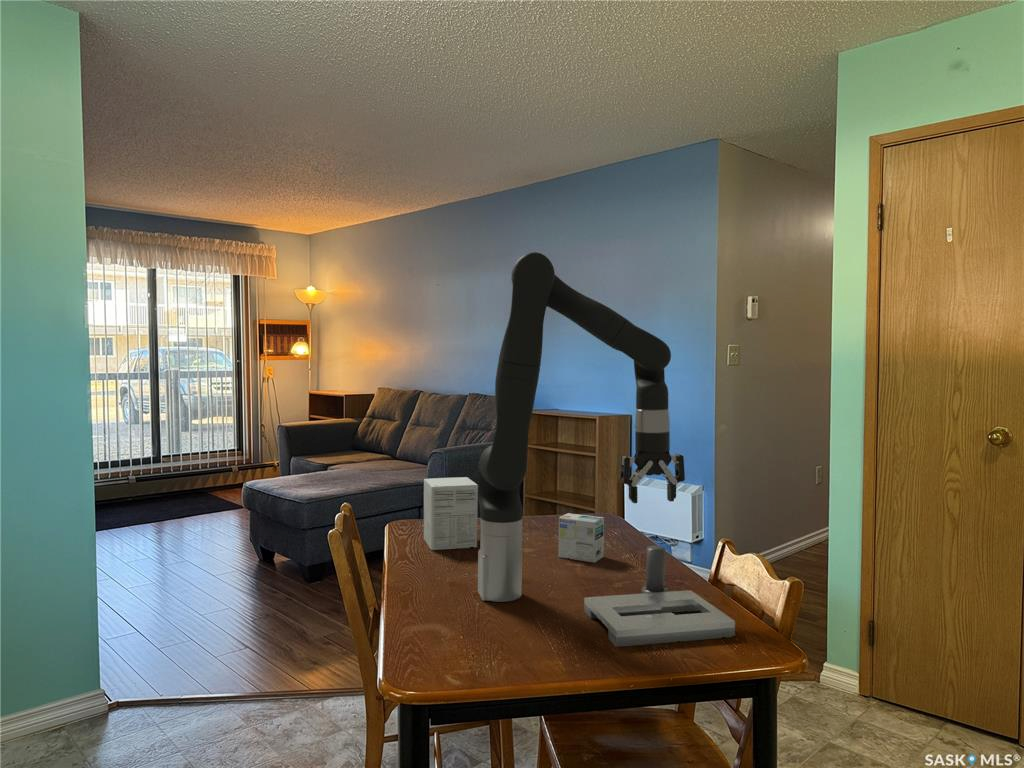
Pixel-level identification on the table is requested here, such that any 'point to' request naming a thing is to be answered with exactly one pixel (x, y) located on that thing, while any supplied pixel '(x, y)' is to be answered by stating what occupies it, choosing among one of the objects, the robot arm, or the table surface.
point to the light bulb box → (581, 537)
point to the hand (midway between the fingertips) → (652, 501)
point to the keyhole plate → (658, 618)
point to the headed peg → (655, 570)
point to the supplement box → (450, 513)
